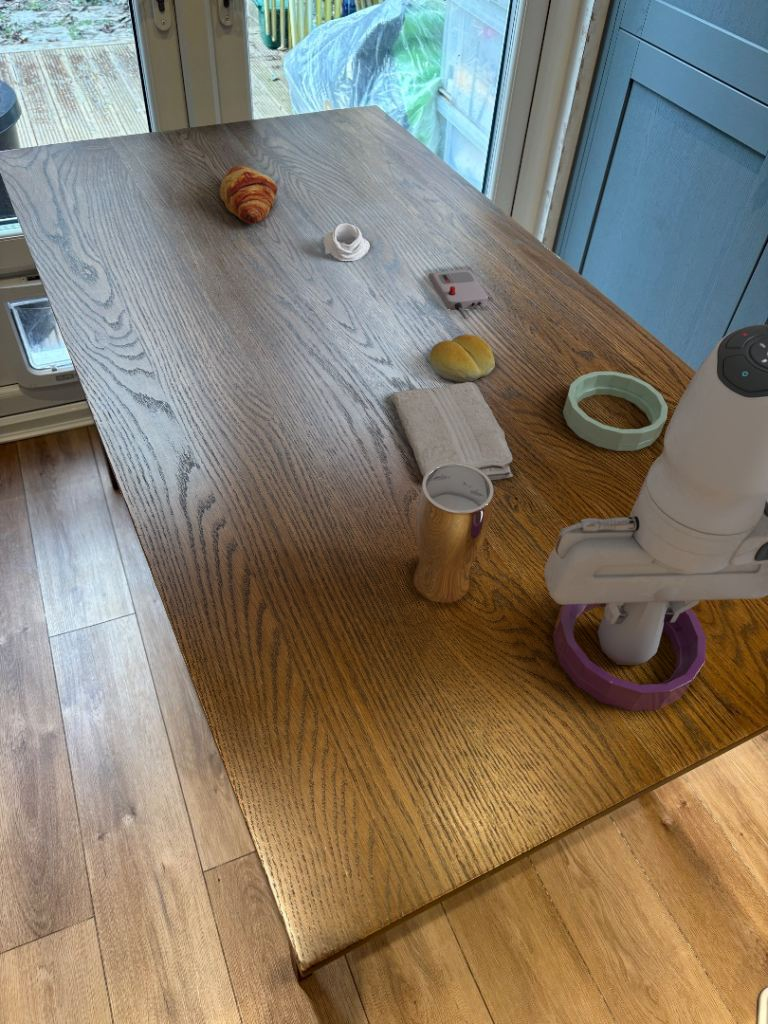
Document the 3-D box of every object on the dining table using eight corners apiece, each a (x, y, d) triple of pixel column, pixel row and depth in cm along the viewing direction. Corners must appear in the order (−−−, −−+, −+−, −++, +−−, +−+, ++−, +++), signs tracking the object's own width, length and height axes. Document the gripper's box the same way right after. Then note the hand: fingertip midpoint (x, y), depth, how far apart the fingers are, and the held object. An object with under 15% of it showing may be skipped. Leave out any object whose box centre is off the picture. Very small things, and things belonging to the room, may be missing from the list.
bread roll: (418, 359, 107) (421, 335, 104) (470, 344, 110) (474, 320, 107) (450, 392, 102) (453, 367, 99) (503, 374, 106) (508, 351, 103)
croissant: (229, 198, 146) (205, 162, 140) (273, 171, 144) (251, 133, 138) (242, 249, 131) (215, 211, 126) (291, 220, 130) (267, 180, 124)
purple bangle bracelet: (662, 596, 80) (677, 570, 77) (709, 713, 71) (728, 688, 68) (538, 600, 79) (547, 574, 76) (570, 719, 70) (582, 694, 66)
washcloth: (425, 497, 88) (427, 479, 86) (385, 403, 100) (387, 384, 98) (518, 483, 91) (523, 464, 89) (469, 392, 102) (472, 374, 100)
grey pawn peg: (657, 676, 73) (706, 595, 63) (599, 675, 72) (639, 594, 63) (642, 625, 77) (686, 543, 67) (587, 624, 76) (623, 541, 67)
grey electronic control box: (462, 269, 125) (464, 252, 123) (496, 320, 115) (499, 303, 113) (424, 272, 124) (426, 255, 122) (456, 324, 114) (458, 307, 112)
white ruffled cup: (364, 246, 130) (366, 218, 127) (374, 262, 126) (376, 233, 122) (319, 247, 128) (320, 218, 125) (327, 263, 124) (329, 233, 120)
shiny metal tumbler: (420, 553, 82) (434, 452, 71) (480, 573, 81) (504, 473, 70) (398, 600, 78) (409, 500, 67) (461, 622, 76) (484, 523, 65)
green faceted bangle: (640, 394, 104) (649, 371, 101) (670, 456, 96) (681, 432, 93) (552, 395, 103) (558, 371, 100) (574, 457, 95) (582, 433, 92)
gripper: (574, 551, 57) (537, 650, 67) (826, 545, 59) (754, 642, 69) (555, 492, 61) (523, 593, 72) (791, 488, 63) (728, 587, 73)
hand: (638, 617), depth 70 cm, fingers closed on grey pawn peg, 3 cm apart
